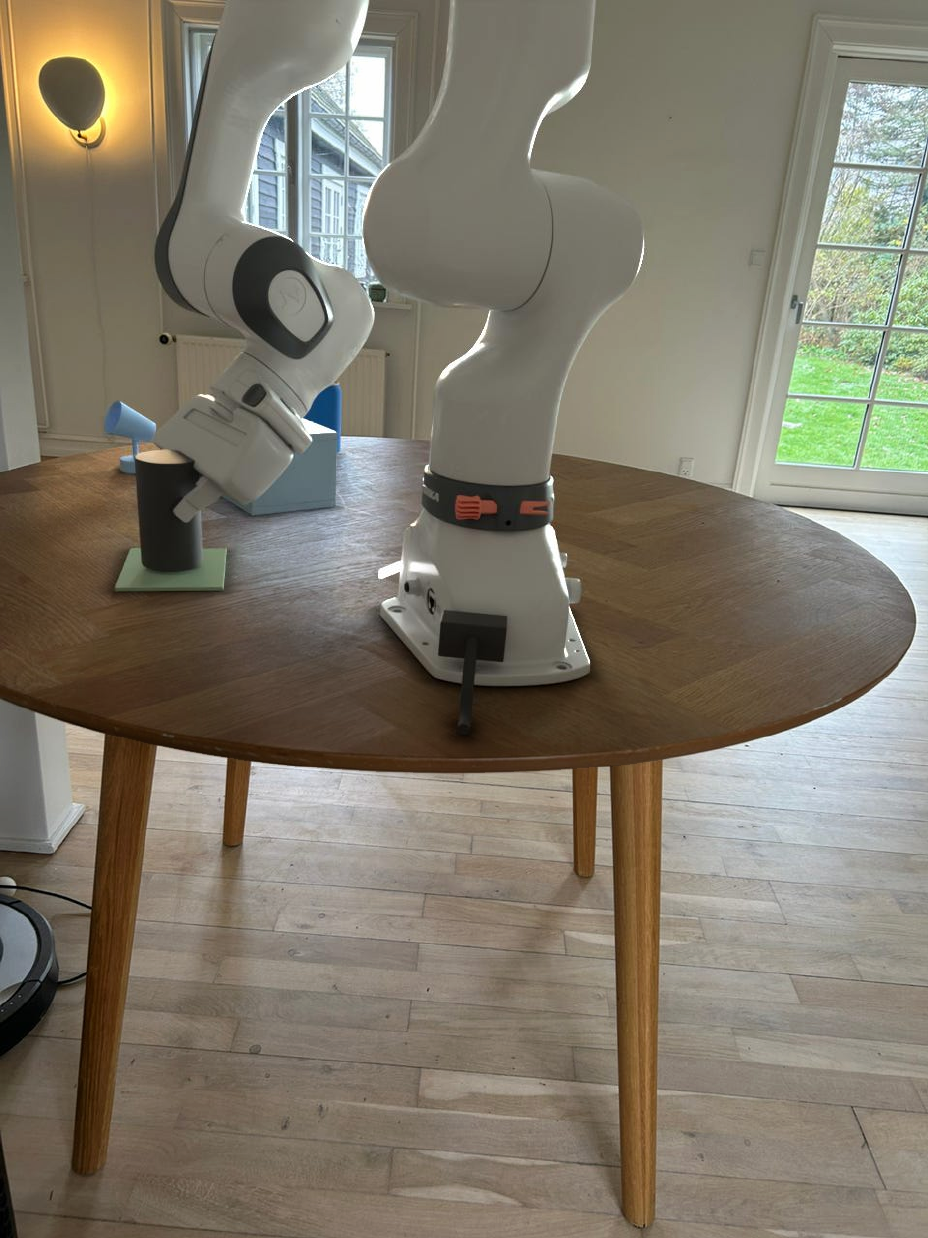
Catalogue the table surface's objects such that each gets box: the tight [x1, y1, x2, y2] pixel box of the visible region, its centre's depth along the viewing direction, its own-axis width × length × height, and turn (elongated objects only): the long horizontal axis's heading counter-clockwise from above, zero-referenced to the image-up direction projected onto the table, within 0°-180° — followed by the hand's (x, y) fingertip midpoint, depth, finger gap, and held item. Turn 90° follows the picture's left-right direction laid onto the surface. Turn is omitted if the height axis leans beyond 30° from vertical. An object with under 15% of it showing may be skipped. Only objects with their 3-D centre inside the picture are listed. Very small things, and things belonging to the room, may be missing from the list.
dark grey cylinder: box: [134, 449, 204, 572], centre depth 86 cm, size 6×6×11 cm
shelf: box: [220, 419, 338, 517], centre depth 115 cm, size 16×12×12 cm
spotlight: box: [103, 400, 157, 474], centre depth 122 cm, size 5×10×7 cm
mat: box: [114, 547, 227, 592], centre depth 88 cm, size 12×10×1 cm
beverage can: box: [302, 380, 343, 454], centre depth 141 cm, size 6×6×12 cm
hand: (164, 507), depth 85 cm, fingers closed on dark grey cylinder, 6 cm apart
